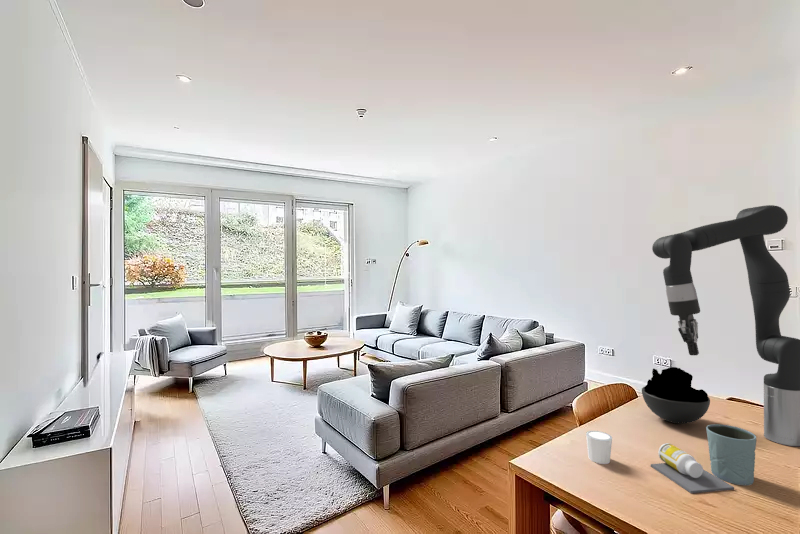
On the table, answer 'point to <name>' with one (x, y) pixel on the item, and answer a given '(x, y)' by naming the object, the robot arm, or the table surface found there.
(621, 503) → the table surface
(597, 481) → the table surface
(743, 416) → the table surface
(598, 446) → the shot glass
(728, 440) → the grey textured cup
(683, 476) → the mat
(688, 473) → the supplement bottle
